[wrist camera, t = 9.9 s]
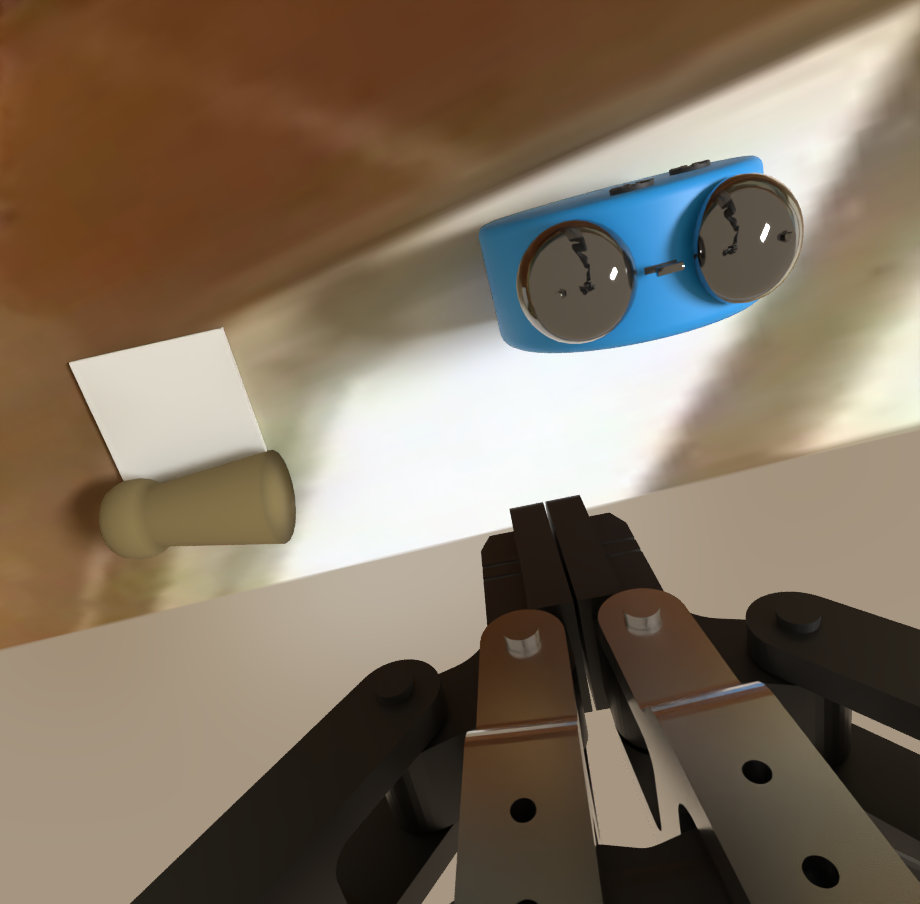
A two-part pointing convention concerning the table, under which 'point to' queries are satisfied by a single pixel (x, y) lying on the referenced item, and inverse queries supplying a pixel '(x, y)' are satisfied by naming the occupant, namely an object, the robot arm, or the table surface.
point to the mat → (171, 406)
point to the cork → (202, 508)
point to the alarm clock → (641, 257)
